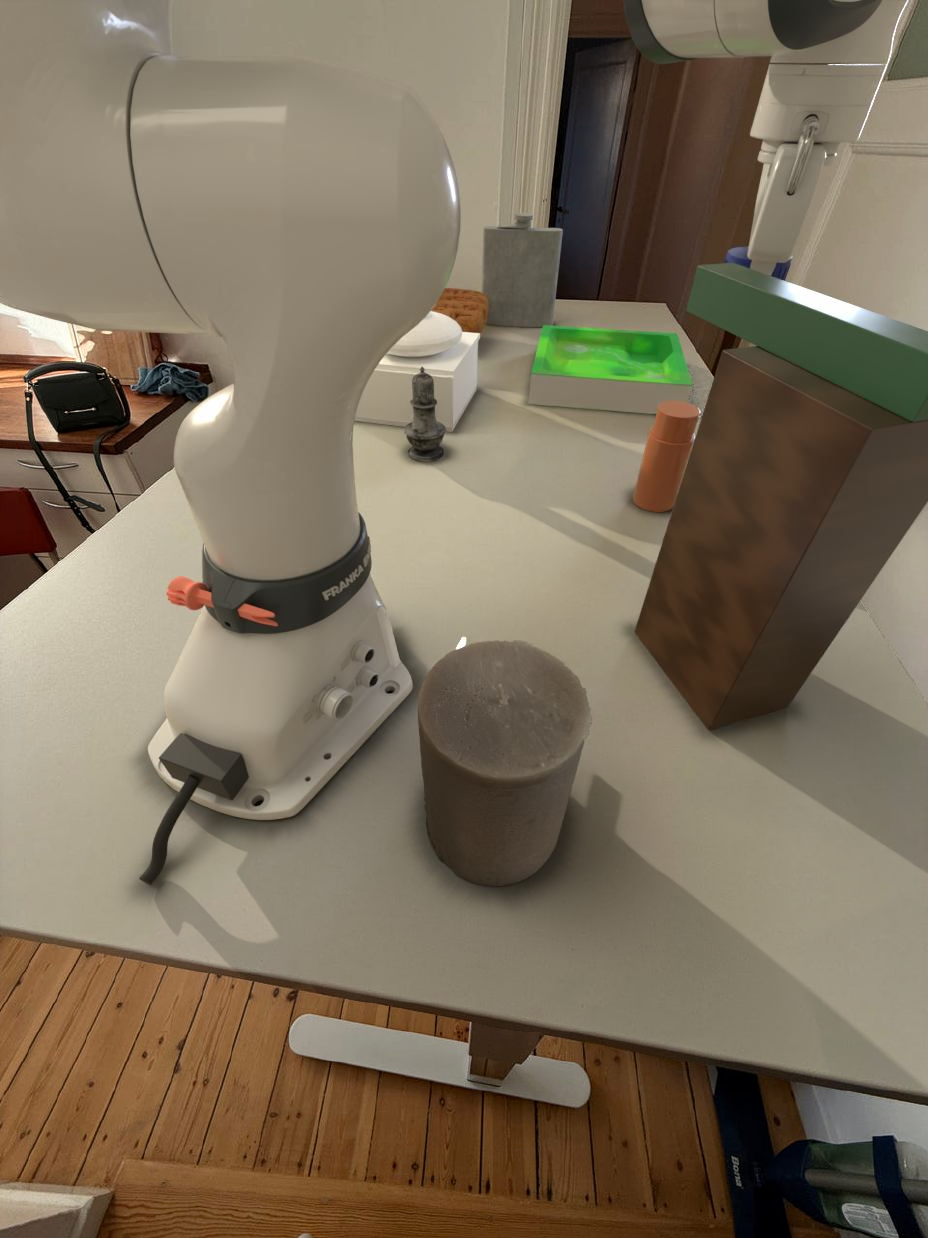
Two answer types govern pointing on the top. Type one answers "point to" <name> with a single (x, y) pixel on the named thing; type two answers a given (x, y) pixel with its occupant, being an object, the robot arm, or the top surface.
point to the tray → (608, 369)
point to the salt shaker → (424, 421)
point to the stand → (776, 533)
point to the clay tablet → (464, 308)
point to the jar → (666, 456)
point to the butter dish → (441, 357)
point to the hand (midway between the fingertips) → (750, 292)
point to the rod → (819, 335)
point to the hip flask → (520, 272)
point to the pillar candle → (499, 757)
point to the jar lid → (742, 259)
